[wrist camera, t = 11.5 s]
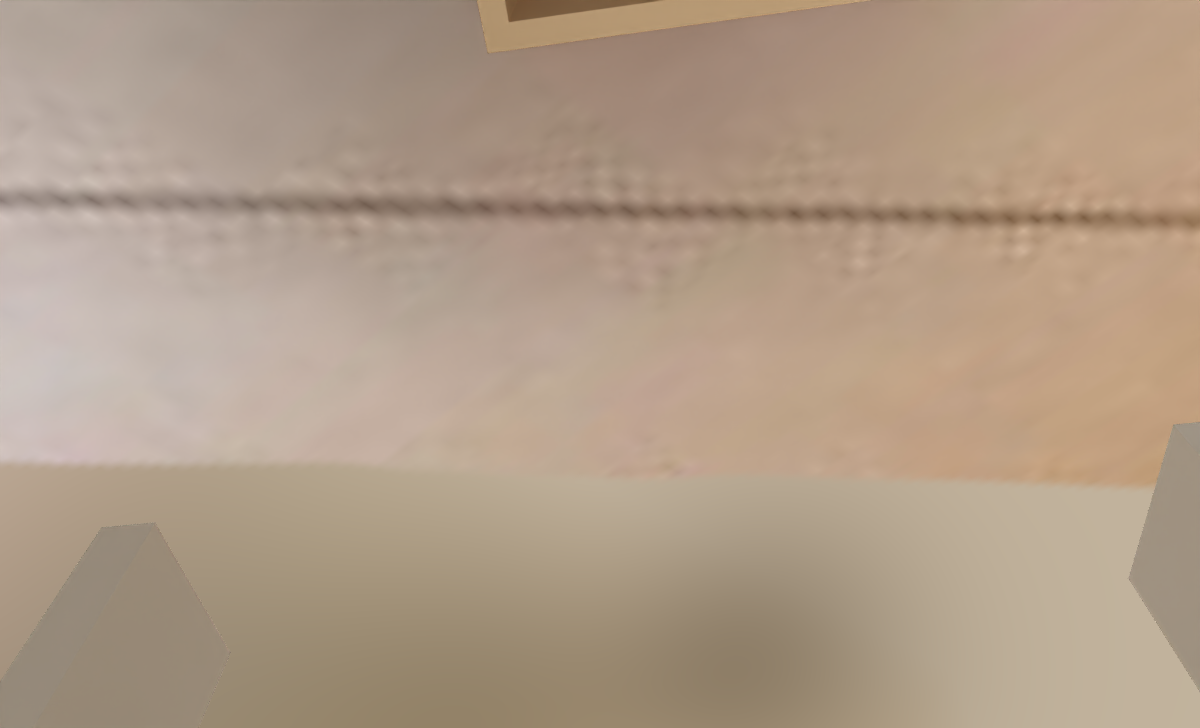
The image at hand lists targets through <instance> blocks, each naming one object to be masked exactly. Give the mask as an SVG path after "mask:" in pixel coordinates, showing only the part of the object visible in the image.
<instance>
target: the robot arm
mask: <svg viewBox="0 0 1200 728" xmlns="http://www.w3.org/2000/svg"><path fill="white" fill-rule="evenodd" d="M1129 580H1130V582H1131V583H1132V585H1133V586H1134V588H1135V589H1136V591H1137V593H1138V594H1139V596H1140V597H1141V599H1142V601H1143V602H1144V604H1145V605H1146V607H1147V608H1148V610H1149V612H1150V613H1151V615H1152V616H1153V618H1154V620H1155V621H1156V623H1157V624H1158V626H1159V628H1160V629H1161V631H1162V632H1163V634H1164V635H1165V637H1166V639H1167V640H1168V642H1169V643H1170V645H1171V647H1172V648H1173V650H1174V651H1175V653H1176V654H1177V656H1178V658H1179V659H1180V661H1181V662H1182V664H1183V666H1184V667H1185V669H1186V671H1187V672H1188V674H1189V675H1190V677H1191V679H1192V680H1193V681H1194V683H1195V685H1196V686H1197V688H1198V690H1199V691H1200V422H1196V423H1186V424H1175V425H1173V428H1172V431H1171V435H1170V438H1169V441H1168V445H1167V448H1166V452H1165V455H1164V459H1163V462H1162V465H1161V469H1160V472H1159V476H1158V479H1157V483H1156V486H1155V490H1154V493H1153V496H1152V500H1151V503H1150V507H1149V510H1148V514H1147V517H1146V521H1145V524H1144V527H1143V531H1142V535H1141V538H1140V542H1139V545H1138V548H1137V552H1136V555H1135V558H1134V562H1133V565H1132V569H1131V572H1130V576H1129ZM229 655H230V651H229V649H228V647H227V645H226V644H225V642H224V640H223V638H222V637H221V635H220V633H219V632H218V630H217V629H216V627H215V625H214V623H213V621H212V620H211V618H210V616H209V614H208V613H207V611H206V609H205V608H204V606H203V604H202V602H201V601H200V599H199V597H198V595H197V594H196V592H195V590H194V589H193V587H192V585H191V583H190V582H189V580H188V578H187V577H186V575H185V573H184V571H183V570H182V568H181V566H180V564H179V563H178V561H177V559H176V558H175V556H174V554H173V553H172V551H171V549H170V547H169V546H168V544H167V542H166V540H165V539H164V537H163V535H162V533H161V532H160V530H159V528H158V527H157V525H156V523H144V524H133V525H123V526H113V527H102V528H101V529H100V531H99V532H98V534H97V535H96V537H95V538H94V540H93V541H92V543H91V545H90V546H89V547H88V549H87V550H86V552H85V553H84V555H83V557H82V558H81V559H80V561H79V562H78V564H77V565H76V567H75V568H74V570H73V572H72V573H71V575H70V576H69V578H68V579H67V581H66V582H65V584H64V585H63V587H62V588H61V590H60V591H59V593H58V594H57V596H56V598H55V599H54V601H53V602H52V604H51V605H50V606H49V608H48V609H47V611H46V612H45V614H44V615H43V617H42V619H41V620H40V622H39V623H38V625H37V626H36V628H35V629H34V631H33V632H32V634H31V635H30V637H29V638H28V640H27V641H26V643H25V644H24V646H23V647H22V649H21V650H20V652H19V653H18V655H17V656H16V658H15V660H14V661H13V662H12V664H11V666H10V667H9V669H8V670H7V672H6V673H5V675H4V676H3V678H2V679H1V681H0V728H199V725H200V723H201V721H202V718H203V716H204V714H205V711H206V709H207V707H208V704H209V702H210V699H211V697H212V695H213V693H214V690H215V688H216V685H217V683H218V681H219V678H220V676H221V674H222V671H223V669H224V667H225V664H226V662H227V660H228V657H229Z"/></svg>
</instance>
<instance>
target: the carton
mask: <svg viewBox="0 0 1200 728" xmlns="http://www.w3.org/2000/svg"><path fill="white" fill-rule="evenodd" d="M862 1H869V0H477V3H478V8H479V13H480V18H481V23H482V28H483V33H484V38H485V42H486V47H487V52H488V53H495V52H502V51H509V50H516V49H524V48H531V47H538V46H545V45H552V44H560V43H567V42H574V41H581V40H588V39H596V38H603V37H610V36H617V35H624V34H632V33H639V32H646V31H653V30H660V29H668V28H675V27H682V26H689V25H697V24H704V23H711V22H718V21H725V20H733V19H740V18H747V17H754V16H761V15H769V14H776V13H783V12H790V11H797V10H805V9H812V8H819V7H826V6H833V5H841V4H848V3H855V2H862Z"/></svg>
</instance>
